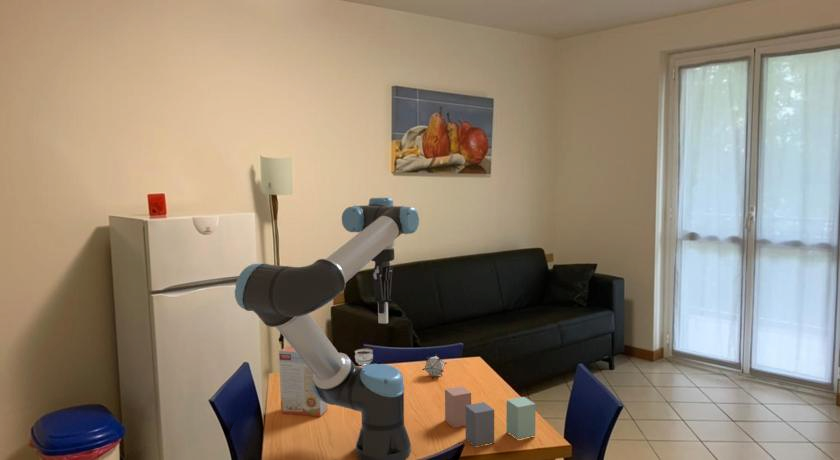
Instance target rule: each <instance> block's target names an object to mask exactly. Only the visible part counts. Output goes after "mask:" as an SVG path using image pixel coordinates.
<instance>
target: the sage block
mask: <svg viewBox="0 0 840 460" xmlns="http://www.w3.org/2000/svg"><path fill="white" fill-rule="evenodd" d="M507 432H508V433H510V434H511V435H513V436H514V437H515V438H517V439H522V438H526V437H531V436H535V437H536V403H535V402H533V401H532V400H531V399H528V397H527V398H526V397H525V396H520V397H515V398H510V399H506V433H507ZM508 433H507V434H508Z"/></svg>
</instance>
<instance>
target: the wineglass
mask: <svg viewBox="0 0 840 460" xmlns="http://www.w3.org/2000/svg"><path fill="white" fill-rule="evenodd" d="M373 351H374V350H373V349H371V348H359V349H356V350H354V353H355V354H354V360H355V363H357V364H358V365H359V366H362V367H361V368H363V367H364V366H366V365H369V364H372V362H373V360H374V354H373Z"/></svg>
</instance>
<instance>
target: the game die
mask: <svg viewBox="0 0 840 460" xmlns="http://www.w3.org/2000/svg"><path fill="white" fill-rule="evenodd" d="M426 359H427V360H425V362H426V363H425V365H424V366H425V367H424V368H422V371H426V372H427V373H428V374H429V375H430V376H431V377H432V378H431V379H433V380H434V378H435V377H437V376H444V375H443V374H442V373H444V369H445V366H446V365H447V364H448V362H444V360H442V359H441V358H440V357H439V356H438V354H437V353H436V354H435V355H434V356H431V357H429V356H426Z"/></svg>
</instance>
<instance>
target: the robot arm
mask: <svg viewBox="0 0 840 460" xmlns="http://www.w3.org/2000/svg"><path fill="white" fill-rule="evenodd" d="M341 224H342V227H343V228H344V229H345V230H346V231H347V232H349V233H357V234H356V235H354V236H353V237H352V238H351V239H350V240H348V241H347V242H346V243H344V244H343V245H342V246H340V247H339V248H338V249H337V250H335V251H334V252H333V253H332V254H330V255H329V256H327V258H318V259H317V260H316V261H314V262H313V263H311V264H309V265H306V266H291V265H290V266H289V265H277V264H269V263H266V262H263V263H253V264H250V265H248V266H246V267H245V268H243V270H242V271H241V272H240V274H239V275H238V277H237V279H236V282H235V284H234V285H235V289H234V298H235V301H236V303H237V305H238V306H239V307H240V308H241V309H243V310H245V311H247V312H251V311H252V312H253V313H255V314H256V315H257V317H258V318H259V319H260V320H261V322H262V323H264V325H265V326H266V327H270V328H276V329H277V330H278V332H279V333H280V334H281V336H282V337H284V339H285V340H286V341H287V343H288V344H289V346H292V347H293V349H294V350H295V351H296V352H297V354H298V355H299V356H300V357H301V358H302V360H303V361H304V362H305V363H306V364H307V366H308V367H309V368H310V369H311V371H312V372H313V384H314V386H313V390H314V393H315V395H316V396H317V397H318V398H319V399H320V400H321V401H324V402H325V403H327V405H332V406H337V407H342V408H344V409H349V410H352V411H356V412H359V413H361V427H360V431H359V434H358V437H357V441H356V444H355V455H356V457H357V458H358V459H359V460H406V459H407V458H409V456H410V455H411V451H412V450H411V449H412V448H411V447H412V446H411V440H410V436H409V434H408V431H407V428H406V426H405V386H404V385H405V384H404V376H403V373H402V371H401V370H399V369H398V368H396V367H395V366H392V365H389V364H386V363H385V364H384V363H380V364H378V363H370V364H368V365H366V366H364V367H360V366H357V365H355V364H354V362H353V361H352V359H351V358H350V357H349V356H348V354H346V353H343V352H338V350H337V348H336V347H335V346H334V345H333V343H332V342H331V340H329V338H328V337H327V335H326V333H324V331H323V330H322V328H321V327H320V326H319V325H318V323H317V322H316V321H315V319H314V318H313V316H312V315H311V313H313V312H315V311H317V310H319V309H320V308H322V307H324V306H325V305H327V304H329V303H330V302H331V301H333V300H334V299H336V298H337V297H338V296H339V295H340V294H341V293H343V291H344V290H345V288H346V283H347V282H348V281H349V280H350V279H352V278H353V277H354V276H355V275H356V274H357V273H359V272H360V271H361V270H362V269H363V268H364V267H365V266H366V265H367V264H369V263H370V262H374V268H373V270H374V272H371V274H370V276H371V279H372V285H373V287H372V288H373V295H374V303H376V304H377V311H378V312H377V315H378V316H377V319H378V324H388V323H389V302H392V299H391V295H392V282H393V281H392V280H393V279H392V278H393V270H394V267H393V266H391V264H390V262H392V261H394V260H395V248H394V246H395V240H396V239H397V238H398V237H400V236H401V235H403V234H404V235H410V234H414V233H415V232H416V231H417V230H418V228H419V225H420V217H419V213H418V211H417V210H416V209H415V207H411V206H404V205H400V206H399V205H398V206H396V205H395V206H394V200H393V199H392V198H391V197H370V198H369V200H368V204H367V205H365V204H364V205H353V206H348V207H346V208H345V209H344V211H343V212H342V214H341Z"/></svg>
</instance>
